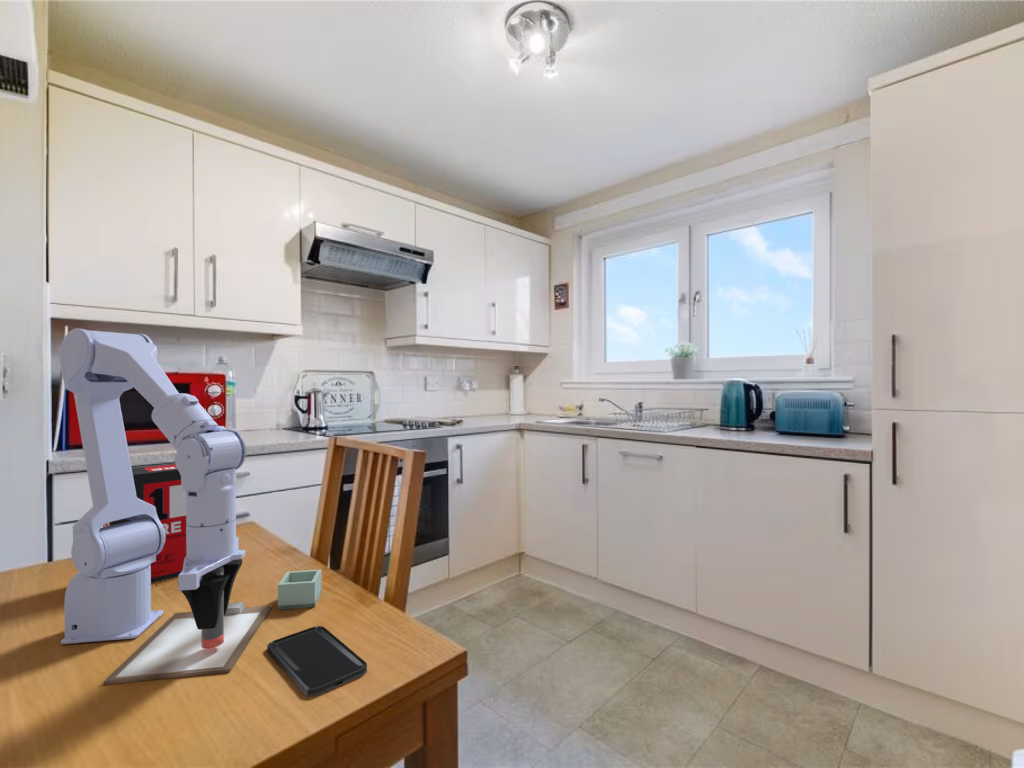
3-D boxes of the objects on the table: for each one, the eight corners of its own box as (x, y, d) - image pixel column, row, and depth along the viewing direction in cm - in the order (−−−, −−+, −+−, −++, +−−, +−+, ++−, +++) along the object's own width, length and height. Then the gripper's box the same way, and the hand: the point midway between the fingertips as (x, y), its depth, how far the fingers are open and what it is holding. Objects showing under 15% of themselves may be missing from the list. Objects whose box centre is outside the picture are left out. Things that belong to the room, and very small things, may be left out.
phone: (320, 624, 74) (370, 665, 63) (320, 631, 74) (370, 674, 63) (264, 643, 68) (307, 692, 57) (264, 652, 68) (307, 702, 57)
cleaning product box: (110, 592, 86) (110, 477, 86) (103, 578, 93) (102, 470, 93) (217, 566, 98) (217, 465, 98) (204, 555, 105) (204, 460, 104)
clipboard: (103, 684, 60) (103, 672, 60) (175, 615, 78) (175, 606, 78) (229, 672, 63) (229, 661, 63) (271, 608, 80) (271, 599, 80)
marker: (198, 649, 66) (197, 573, 66) (206, 639, 68) (206, 566, 68) (219, 647, 66) (219, 572, 66) (227, 637, 69) (226, 565, 69)
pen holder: (277, 609, 80) (277, 584, 80) (287, 594, 85) (287, 571, 85) (314, 606, 81) (314, 582, 81) (321, 592, 86) (321, 569, 86)
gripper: (223, 535, 61) (223, 647, 61) (260, 506, 75) (260, 596, 75) (158, 539, 59) (159, 653, 59) (209, 508, 74) (209, 600, 74)
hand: (211, 622), depth 67 cm, fingers closed on marker, 3 cm apart
